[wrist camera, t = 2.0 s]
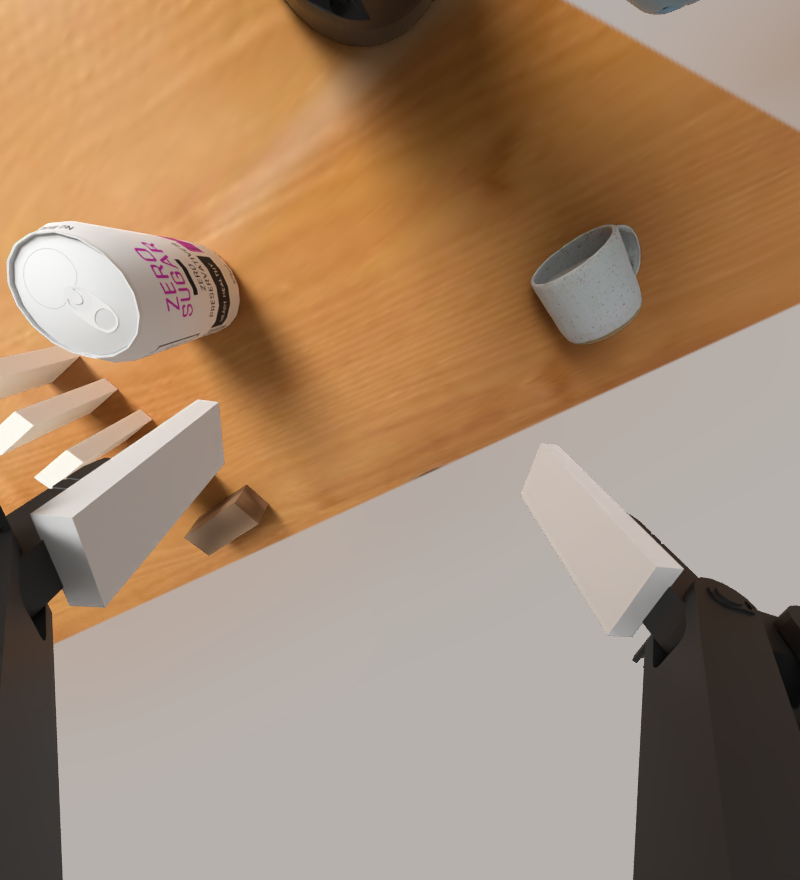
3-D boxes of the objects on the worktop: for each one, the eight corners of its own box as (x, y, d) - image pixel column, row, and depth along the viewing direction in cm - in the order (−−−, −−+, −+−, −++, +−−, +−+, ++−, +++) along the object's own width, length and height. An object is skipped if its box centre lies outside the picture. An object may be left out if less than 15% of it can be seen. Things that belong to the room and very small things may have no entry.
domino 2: (77, 402, 37) (-19, 442, 28) (104, 377, 36) (14, 411, 27) (90, 413, 38) (1, 455, 29) (117, 389, 37) (33, 425, 28)
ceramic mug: (556, 343, 37) (597, 358, 30) (517, 284, 34) (553, 286, 27) (642, 272, 34) (709, 271, 28) (608, 202, 31) (674, 180, 25)
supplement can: (140, 290, 33) (-27, 300, 19) (183, 220, 30) (26, 177, 17) (214, 348, 35) (112, 392, 22) (258, 289, 33) (175, 298, 20)
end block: (199, 516, 45) (184, 537, 42) (246, 484, 43) (234, 503, 40) (222, 534, 47) (208, 555, 43) (268, 504, 45) (258, 524, 41)
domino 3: (113, 431, 39) (33, 477, 30) (140, 408, 38) (66, 449, 29) (125, 441, 40) (50, 489, 31) (152, 419, 39) (83, 462, 30)
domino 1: (37, 370, 36) (-78, 402, 27) (65, 343, 35) (-45, 367, 26) (52, 382, 36) (-56, 417, 27) (79, 356, 35) (-23, 383, 26)
